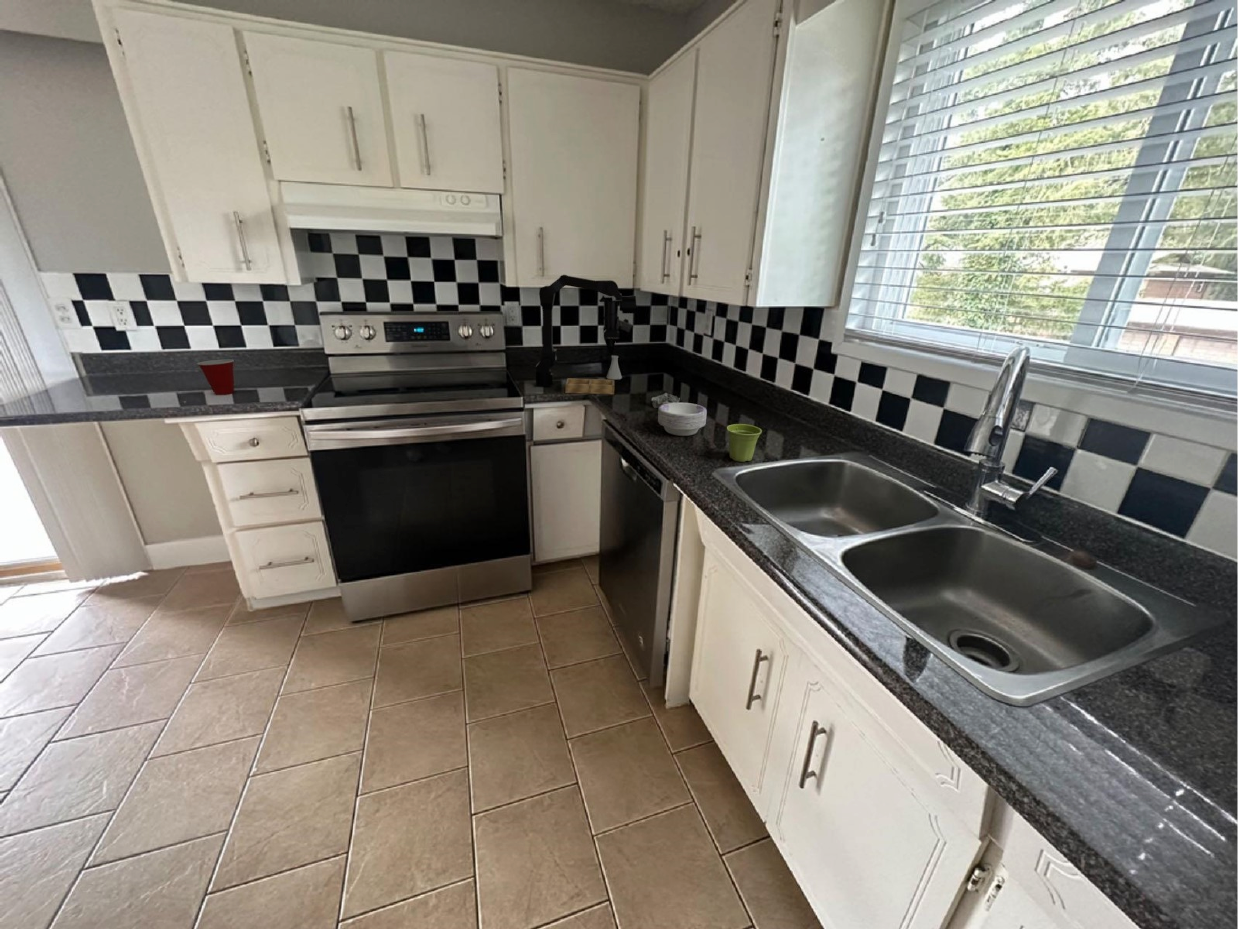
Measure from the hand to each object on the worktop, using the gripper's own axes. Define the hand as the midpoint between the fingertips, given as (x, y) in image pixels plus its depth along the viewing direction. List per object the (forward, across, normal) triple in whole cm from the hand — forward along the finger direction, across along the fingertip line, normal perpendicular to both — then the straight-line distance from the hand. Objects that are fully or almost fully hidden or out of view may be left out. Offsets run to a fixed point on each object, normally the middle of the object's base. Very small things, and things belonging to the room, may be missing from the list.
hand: (611, 352), depth 208 cm
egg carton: (+15, -28, -20) cm, 38 cm away
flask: (+15, +16, -2) cm, 22 cm away
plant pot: (+16, -80, -34) cm, 89 cm away
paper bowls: (+15, -58, -21) cm, 64 cm away
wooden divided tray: (+14, -8, +9) cm, 18 cm away
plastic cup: (+10, -24, +143) cm, 146 cm away
